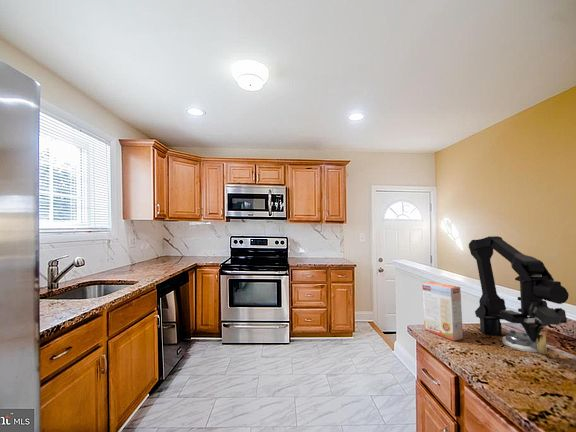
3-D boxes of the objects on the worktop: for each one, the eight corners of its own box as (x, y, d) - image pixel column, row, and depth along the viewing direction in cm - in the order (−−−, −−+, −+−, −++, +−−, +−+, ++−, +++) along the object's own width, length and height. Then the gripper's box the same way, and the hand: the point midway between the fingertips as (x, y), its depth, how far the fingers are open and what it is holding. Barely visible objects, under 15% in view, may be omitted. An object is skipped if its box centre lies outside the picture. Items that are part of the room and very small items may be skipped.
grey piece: (499, 336, 107) (499, 321, 107) (523, 336, 106) (522, 320, 107) (531, 353, 92) (530, 335, 92) (559, 353, 92) (557, 335, 92)
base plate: (515, 351, 97) (514, 346, 97) (496, 339, 108) (495, 335, 108) (549, 352, 96) (549, 348, 96) (526, 340, 107) (526, 335, 107)
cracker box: (464, 339, 109) (461, 286, 110) (453, 341, 107) (450, 288, 108) (433, 327, 122) (431, 280, 123) (423, 329, 120) (421, 282, 121)
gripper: (524, 302, 86) (527, 352, 85) (583, 302, 86) (586, 352, 85) (497, 294, 97) (499, 338, 96) (549, 293, 97) (551, 338, 96)
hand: (533, 341), depth 93 cm, fingers closed
